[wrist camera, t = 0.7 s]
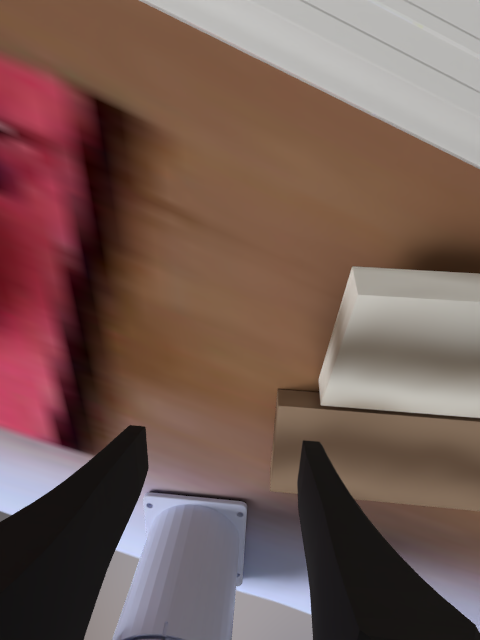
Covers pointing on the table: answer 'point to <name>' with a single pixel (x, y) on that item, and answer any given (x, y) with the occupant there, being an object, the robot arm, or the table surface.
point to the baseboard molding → (366, 56)
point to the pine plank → (406, 343)
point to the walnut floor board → (380, 452)
